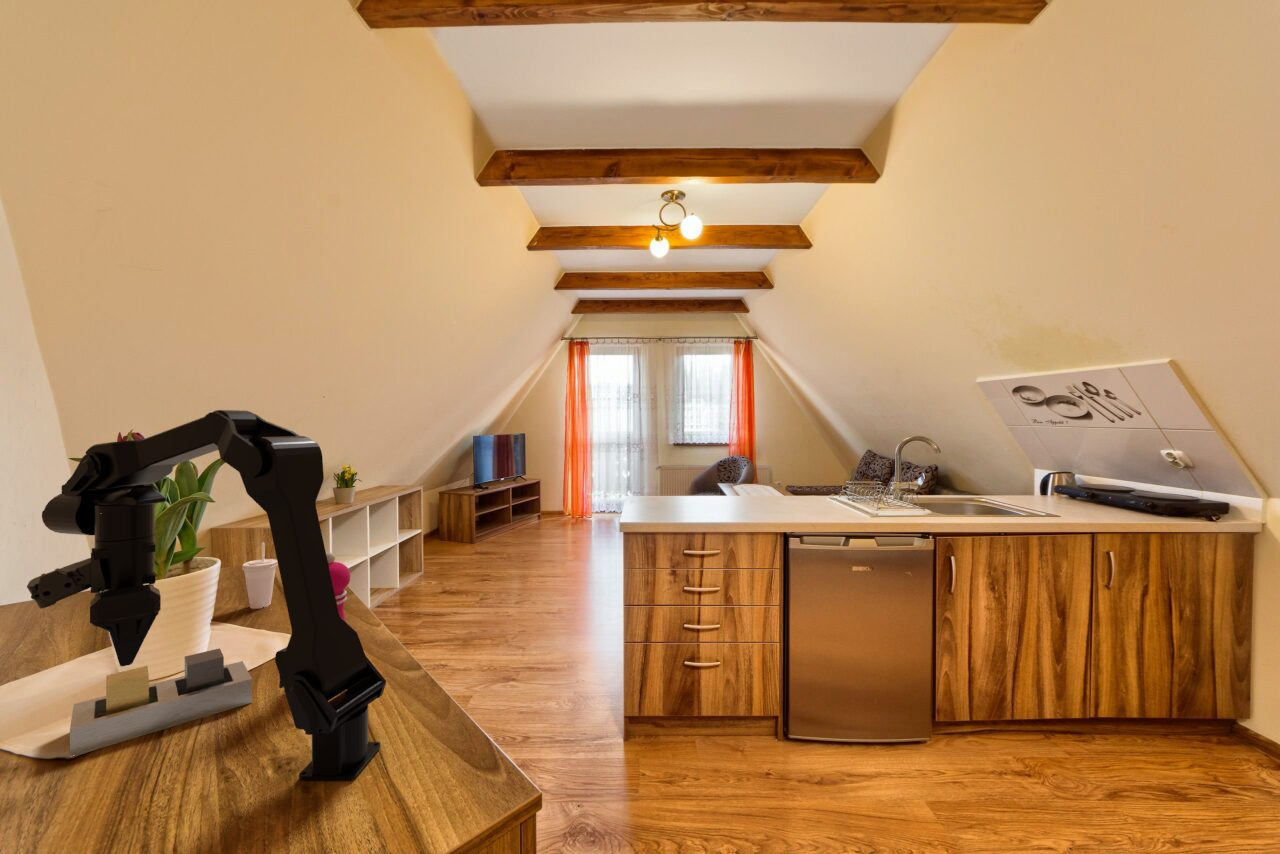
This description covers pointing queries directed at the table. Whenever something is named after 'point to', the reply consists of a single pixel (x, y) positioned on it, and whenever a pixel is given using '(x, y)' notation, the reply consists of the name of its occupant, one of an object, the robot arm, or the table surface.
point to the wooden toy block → (127, 690)
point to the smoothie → (260, 580)
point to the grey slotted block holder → (164, 703)
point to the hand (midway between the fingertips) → (125, 653)
